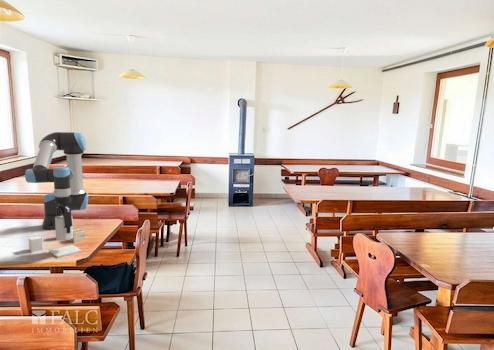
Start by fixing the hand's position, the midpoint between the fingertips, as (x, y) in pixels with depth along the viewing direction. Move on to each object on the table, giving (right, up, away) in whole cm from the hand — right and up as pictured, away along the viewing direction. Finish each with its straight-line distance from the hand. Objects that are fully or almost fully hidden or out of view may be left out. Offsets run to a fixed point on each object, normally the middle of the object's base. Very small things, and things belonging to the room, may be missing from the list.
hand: (64, 236), depth 174 cm
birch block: (-3, -6, +19) cm, 21 cm away
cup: (0, -1, 0) cm, 1 cm away
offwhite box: (-17, -8, +3) cm, 19 cm away
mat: (0, -9, +1) cm, 9 cm away
